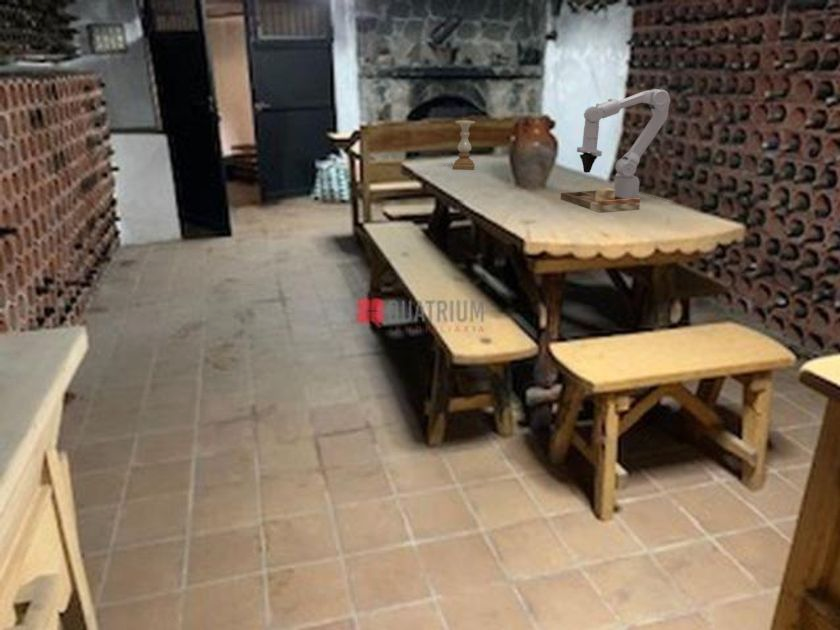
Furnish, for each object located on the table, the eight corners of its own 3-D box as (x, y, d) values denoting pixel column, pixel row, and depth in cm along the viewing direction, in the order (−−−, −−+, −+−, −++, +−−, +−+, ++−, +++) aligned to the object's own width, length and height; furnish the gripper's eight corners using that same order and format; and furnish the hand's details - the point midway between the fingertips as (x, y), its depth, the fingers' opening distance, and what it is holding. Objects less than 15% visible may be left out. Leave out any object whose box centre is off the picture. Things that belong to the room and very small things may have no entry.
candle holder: (454, 166, 350) (455, 120, 342) (474, 166, 349) (476, 120, 340) (453, 169, 340) (454, 121, 331) (474, 169, 339) (475, 122, 330)
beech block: (605, 200, 251) (607, 187, 249) (613, 203, 246) (615, 190, 245) (594, 201, 249) (596, 188, 247) (602, 204, 245) (604, 190, 243)
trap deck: (597, 196, 273) (598, 186, 271) (639, 209, 249) (640, 198, 248) (560, 199, 267) (561, 189, 265) (599, 212, 243) (600, 201, 242)
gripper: (571, 136, 266) (568, 170, 271) (592, 140, 253) (588, 175, 258) (586, 135, 268) (583, 169, 273) (607, 139, 256) (603, 174, 261)
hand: (586, 172), depth 266 cm, fingers closed
